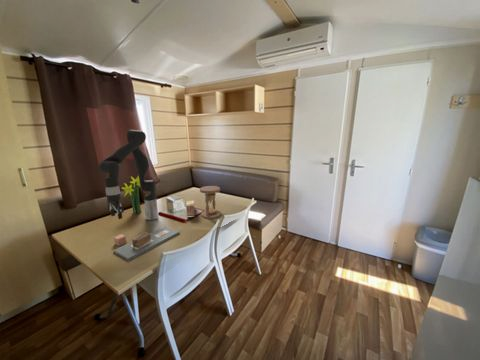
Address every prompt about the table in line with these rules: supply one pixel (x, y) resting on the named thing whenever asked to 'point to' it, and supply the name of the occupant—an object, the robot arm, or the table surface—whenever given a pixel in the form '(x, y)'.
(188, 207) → the stack of blocks
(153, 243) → the board
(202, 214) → the hourglass
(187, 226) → the table surface
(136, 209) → the daffodil flowers
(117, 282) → the table surface
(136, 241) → the walnut brick
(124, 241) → the terracotta cube
